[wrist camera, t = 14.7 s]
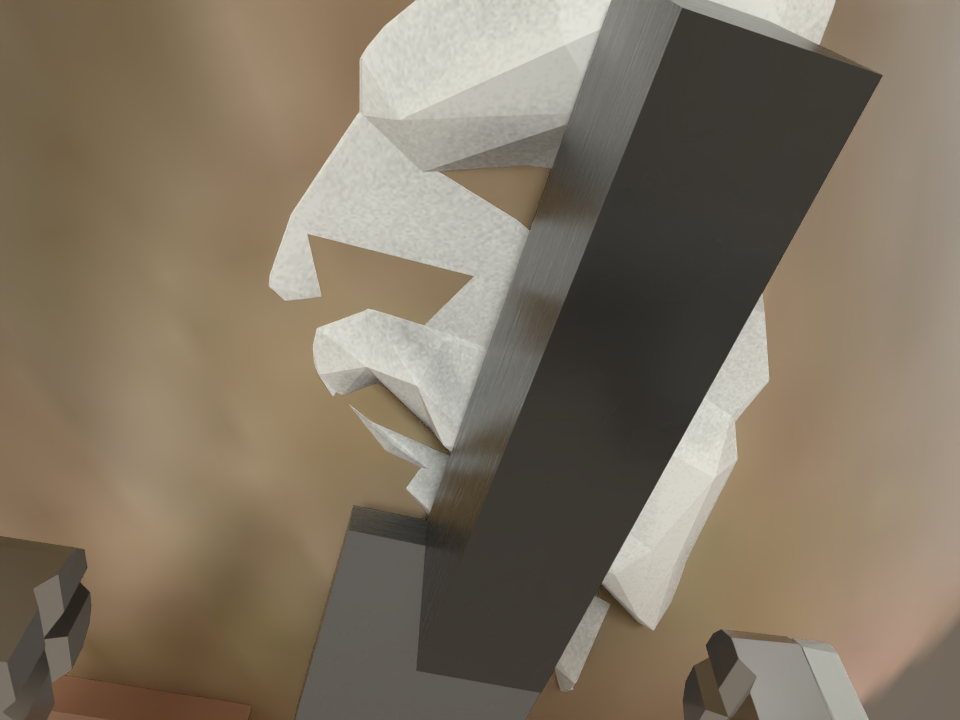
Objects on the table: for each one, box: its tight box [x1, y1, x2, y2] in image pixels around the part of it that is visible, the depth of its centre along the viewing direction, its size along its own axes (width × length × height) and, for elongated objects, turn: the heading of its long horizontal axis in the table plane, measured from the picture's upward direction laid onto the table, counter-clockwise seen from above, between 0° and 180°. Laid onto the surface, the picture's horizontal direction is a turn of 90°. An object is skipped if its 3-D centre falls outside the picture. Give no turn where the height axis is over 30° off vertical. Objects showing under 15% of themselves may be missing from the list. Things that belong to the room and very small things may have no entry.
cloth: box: [269, 0, 836, 691], centre depth 16 cm, size 26×14×2 cm, turn 166°
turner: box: [294, 0, 883, 720], centre depth 15 cm, size 20×6×4 cm, turn 163°
